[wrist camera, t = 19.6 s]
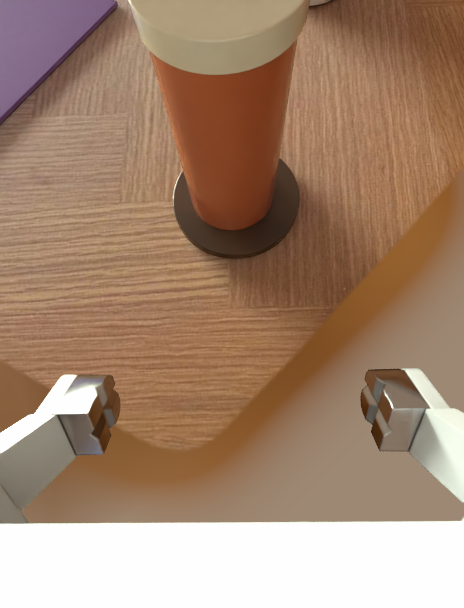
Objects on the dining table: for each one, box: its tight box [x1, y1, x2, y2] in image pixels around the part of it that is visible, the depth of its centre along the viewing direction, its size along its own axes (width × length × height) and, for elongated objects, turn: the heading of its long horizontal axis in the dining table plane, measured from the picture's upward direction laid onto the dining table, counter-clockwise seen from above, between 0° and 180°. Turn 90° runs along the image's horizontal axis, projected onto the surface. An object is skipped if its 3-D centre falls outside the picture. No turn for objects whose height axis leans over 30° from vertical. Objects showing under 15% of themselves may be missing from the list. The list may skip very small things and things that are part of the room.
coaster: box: [173, 158, 299, 258], centre depth 20 cm, size 8×8×1 cm
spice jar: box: [128, 0, 310, 230], centre depth 14 cm, size 6×6×11 cm
